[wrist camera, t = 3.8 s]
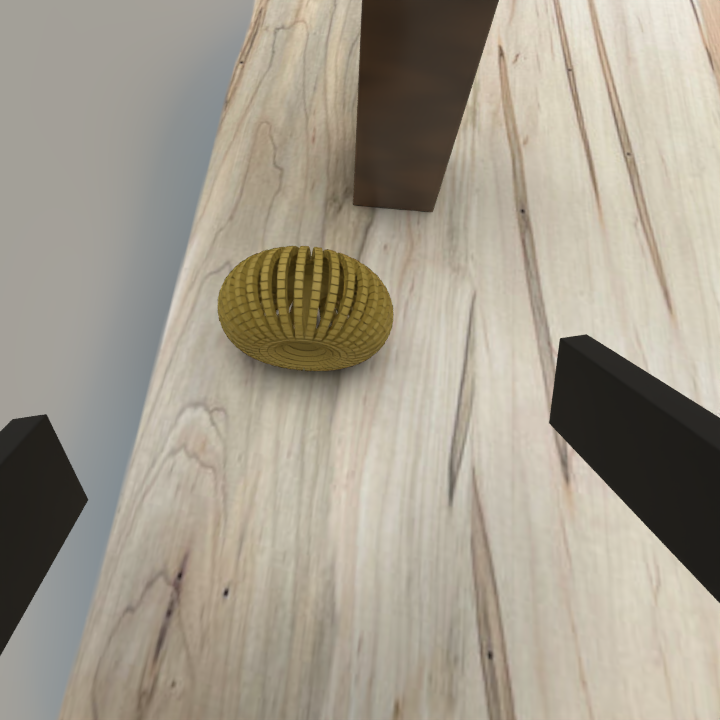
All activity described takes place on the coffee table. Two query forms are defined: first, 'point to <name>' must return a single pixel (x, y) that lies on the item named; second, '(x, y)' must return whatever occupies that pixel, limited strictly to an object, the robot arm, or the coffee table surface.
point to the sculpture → (305, 309)
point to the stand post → (413, 95)
